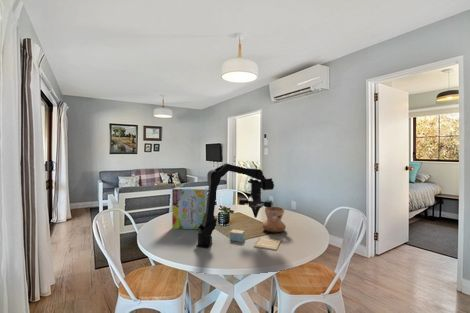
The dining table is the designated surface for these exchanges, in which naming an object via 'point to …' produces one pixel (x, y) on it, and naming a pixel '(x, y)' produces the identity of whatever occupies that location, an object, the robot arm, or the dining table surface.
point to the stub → (237, 235)
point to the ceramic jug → (274, 219)
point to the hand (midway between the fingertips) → (255, 217)
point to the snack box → (188, 207)
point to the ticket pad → (267, 243)
